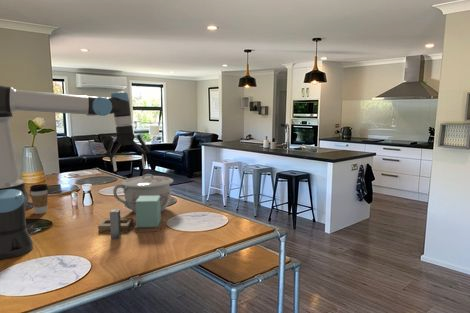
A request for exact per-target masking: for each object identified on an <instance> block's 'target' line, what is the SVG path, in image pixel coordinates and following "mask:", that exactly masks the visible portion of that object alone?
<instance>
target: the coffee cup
mask: <svg viewBox="0 0 470 313" xmlns="http://www.w3.org/2000/svg"><path fill="white" fill-rule="evenodd" d="M48 190H49V187H48V184H47V183H46V184H45V183H42V184H41V183H40V184H33V185H30V188H29V192H30V197H31V201H32V208H33V212H34V214H36V215H40V214H41V215H42V214H45V213H47V212H48V199H49V198H48V195H49V194H48Z"/></svg>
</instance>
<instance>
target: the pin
mask: <svg viewBox="0 0 470 313" xmlns="http://www.w3.org/2000/svg"><path fill="white" fill-rule="evenodd" d="M109 218H110V228H111V232H110V240H119V239H121V237H122V232H121V220H120V218H121V209H119V208H118V209H111V210H110V211H109Z"/></svg>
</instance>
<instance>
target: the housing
mask: <svg viewBox="0 0 470 313" xmlns="http://www.w3.org/2000/svg"><path fill="white" fill-rule="evenodd" d="M135 202H136V213H135V223H136V224H135V226H136V227H158V225H159V223H160V221H161V219H162V213H161V212H162V211H161V203H160V196H139V198H138V199H137V200H136V201H135Z"/></svg>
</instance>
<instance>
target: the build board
mask: <svg viewBox="0 0 470 313" xmlns="http://www.w3.org/2000/svg"><path fill="white" fill-rule="evenodd" d="M120 220H121V233H124V232H125V233H129V231H130V229H132V227H133V225H134V217H120ZM97 228H98V230H97V231H98V233H111V228H110V217H109V218H108V217H105V218H104V219H103V220H102V221H101V223H100V224H99V225H98V226H97Z"/></svg>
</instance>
